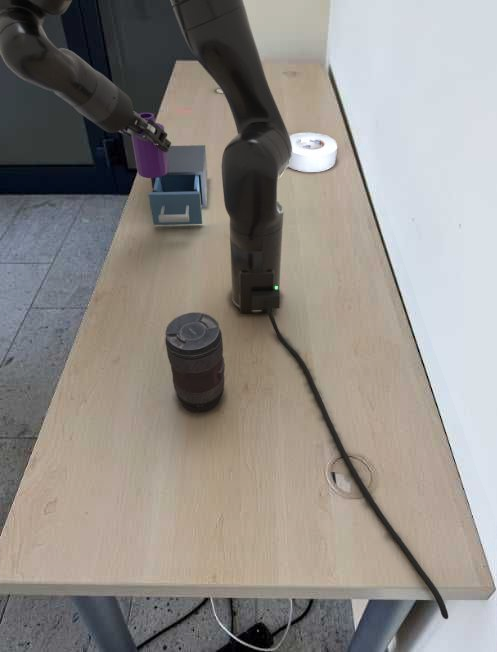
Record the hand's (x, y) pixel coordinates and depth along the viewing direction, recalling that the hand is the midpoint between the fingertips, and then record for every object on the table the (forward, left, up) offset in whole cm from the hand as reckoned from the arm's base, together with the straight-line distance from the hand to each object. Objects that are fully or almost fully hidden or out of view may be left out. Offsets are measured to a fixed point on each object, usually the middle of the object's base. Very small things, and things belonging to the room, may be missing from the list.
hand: (155, 143), depth 100 cm
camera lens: (-50, -10, -20) cm, 55 cm away
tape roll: (+34, -38, -20) cm, 55 cm away
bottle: (-1, +1, -5) cm, 6 cm away
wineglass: (+93, -13, -20) cm, 96 cm away
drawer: (+4, -3, -19) cm, 20 cm away
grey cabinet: (+16, -3, -20) cm, 26 cm away
